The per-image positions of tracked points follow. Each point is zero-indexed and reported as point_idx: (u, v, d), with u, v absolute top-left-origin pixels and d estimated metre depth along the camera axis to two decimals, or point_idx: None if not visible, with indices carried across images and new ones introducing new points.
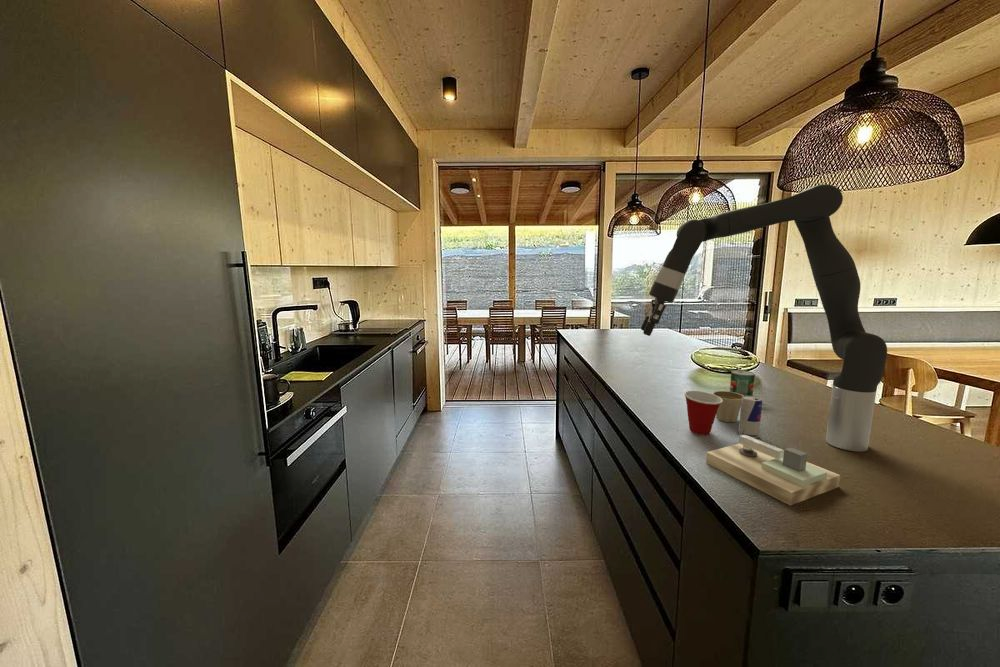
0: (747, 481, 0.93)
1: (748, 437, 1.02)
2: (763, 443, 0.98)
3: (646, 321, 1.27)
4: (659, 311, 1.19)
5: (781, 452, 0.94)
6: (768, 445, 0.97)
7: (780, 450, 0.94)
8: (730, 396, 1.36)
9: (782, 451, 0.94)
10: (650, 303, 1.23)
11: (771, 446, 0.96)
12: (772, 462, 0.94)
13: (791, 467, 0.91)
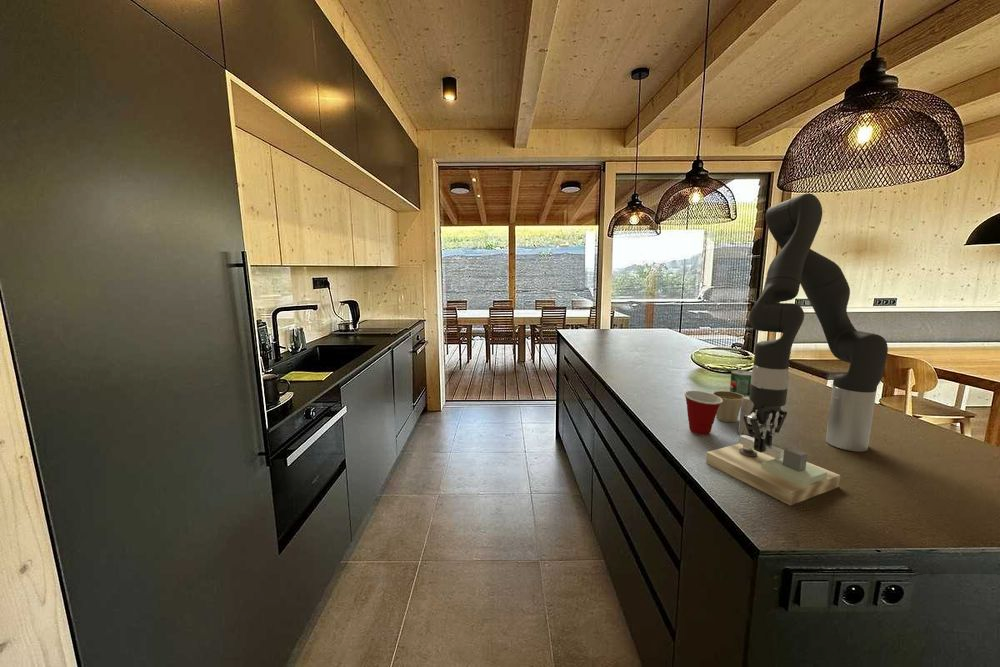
0: (747, 481, 0.93)
1: (748, 437, 1.02)
2: None
3: None
4: None
5: (781, 452, 0.94)
6: (768, 445, 0.97)
7: (780, 450, 0.94)
8: (730, 396, 1.36)
9: (782, 451, 0.94)
10: (770, 415, 0.95)
11: (771, 446, 0.96)
12: (772, 462, 0.94)
13: (791, 467, 0.91)
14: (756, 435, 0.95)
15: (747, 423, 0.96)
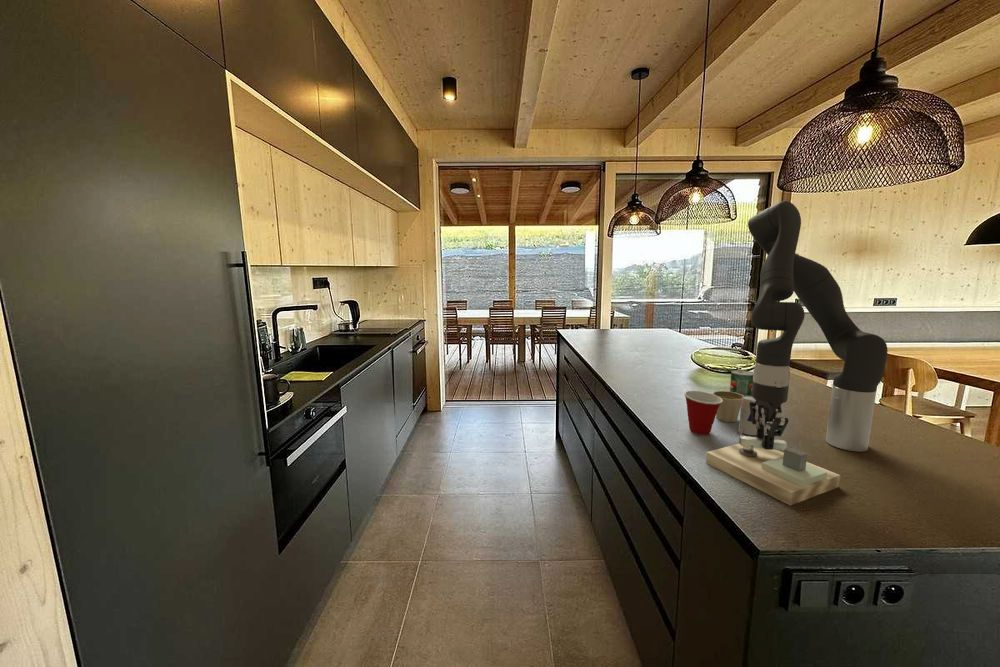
0: (747, 481, 0.93)
1: (747, 437, 1.02)
2: None
3: None
4: None
5: None
6: None
7: (784, 441, 0.99)
8: (730, 396, 1.36)
9: None
10: None
11: None
12: (772, 462, 0.94)
13: (791, 467, 0.91)
14: (780, 434, 0.95)
15: (778, 425, 0.94)
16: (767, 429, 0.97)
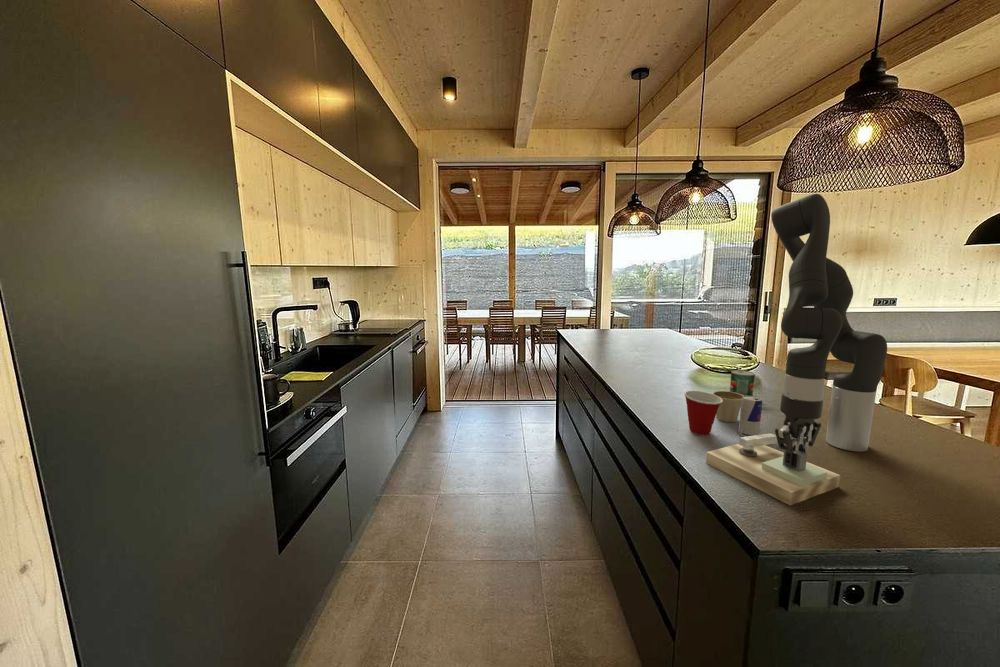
0: (747, 481, 0.93)
1: (747, 438, 1.01)
2: (760, 436, 1.02)
3: None
4: None
5: None
6: (763, 435, 1.03)
7: (772, 434, 1.03)
8: (730, 396, 1.36)
9: None
10: (804, 428, 0.88)
11: (765, 435, 1.03)
12: (772, 462, 0.94)
13: None
14: (788, 450, 0.88)
15: (779, 436, 0.89)
16: None
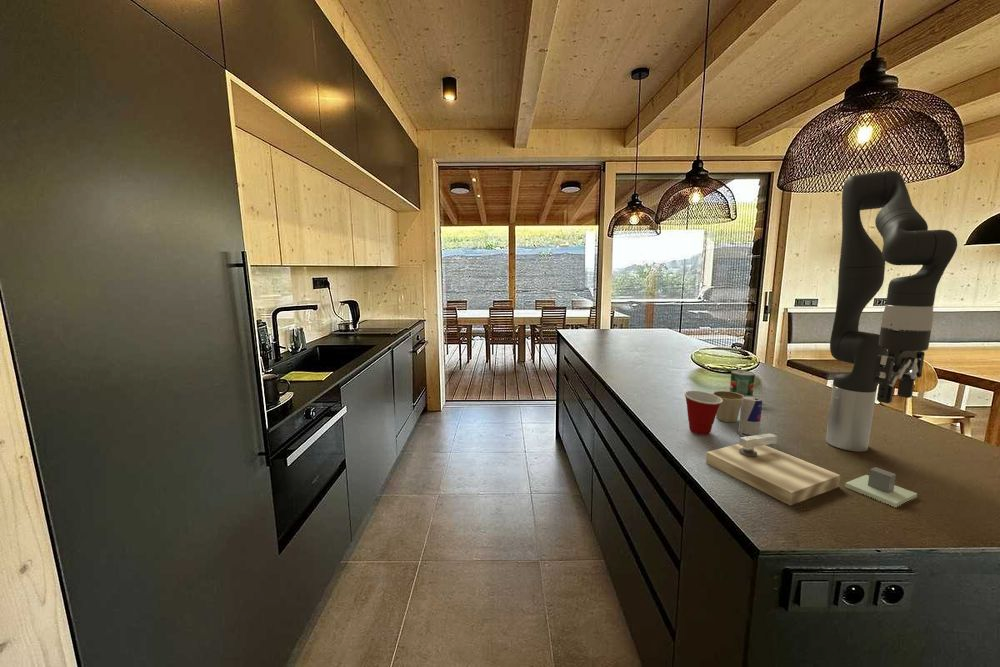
0: (747, 481, 0.93)
1: (747, 438, 1.01)
2: (760, 436, 1.02)
3: None
4: None
5: None
6: (763, 435, 1.03)
7: (772, 434, 1.03)
8: (730, 396, 1.36)
9: None
10: (909, 361, 0.82)
11: (765, 435, 1.03)
12: (856, 482, 0.92)
13: (878, 488, 0.88)
14: (885, 382, 0.81)
15: (879, 363, 0.82)
16: (880, 375, 0.84)
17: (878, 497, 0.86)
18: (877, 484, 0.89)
